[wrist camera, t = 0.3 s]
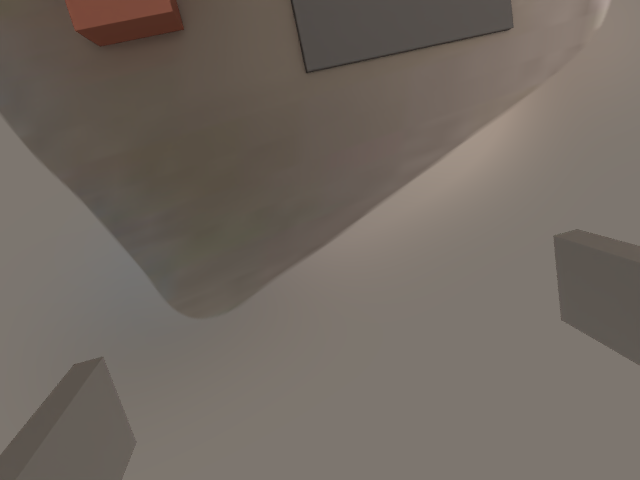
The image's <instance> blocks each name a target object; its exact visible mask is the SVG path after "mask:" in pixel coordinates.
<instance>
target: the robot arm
mask: <svg viewBox="0 0 640 480" xmlns="http://www.w3.org/2000/svg"><path fill="white" fill-rule="evenodd" d="M554 247H555V258H556V269H557V278H558V279H557V280H558V291H559V301H560V311H561V320H562V321H564V322H566V323H568V324H569V325H571V326H573V327H574V328H576V329H578V330H579V331H581V332H583V333H585V334H586V335H588V336H590V337H592V338H593V339H595V340H597V341H598V342H600V343H602V344H604V345H605V346H607V347H609V348H610V349H612V350H614V351H616V352H617V353H619V354H621V355H623V356H624V357H626V358H628V359H629V360H631V361H633V362H635V363H636V364H638V365H640V246H637V245H633V244H630V243H626V242H622V241H618V240H615V239H611V238H608V237H604V236H600V235H597V234H593V233H589V232H585V231H582V230H578V229H576V230H573V231H569V232H565V233H562V234H558V235H554ZM135 445H136V440H135V437H134V435H133V432H132V430H131V427H130V424H129V422H128V419H127V417H126V414H125V412H124V409H123V406H122V404H121V401H120V399H119V396H118V394H117V391H116V389H115V386H114V384H113V381H112V378H111V376H110V373H109V370H108V368H107V365H106V363H105V360H104V358H103V357H100V358H96V359H92V360H89V361H85V362H82V363H78V364H74V365H73V366H72V368H71V369H70V370H69V371H68V373H67V374H66V375H65V376H64V377H63V379H62V380H61V381H60V382H59V384H58V385H57V386H56V387H55V388H54V390H53V391H52V392H51V393H50V395H49V396H48V397H47V398H46V400H45V401H44V402H43V403H42V404H41V406H40V407H39V408H38V409H37V411H36V412H35V413H34V414H33V415H32V417H31V418H30V419H29V420H28V422H27V423H26V424H25V425H24V427H23V428H22V429H21V430H20V431H19V433H18V434H17V435H16V436H15V438H14V439H13V440H12V441H11V443H10V444H9V445H8V446H7V448H6V449H5V450H4V451H3V452H2V454H1V455H0V480H122V477H123V475H124V472H125V470H126V467H127V465H128V462H129V459H130V457H131V455H132V452H133V450H134V447H135Z"/></svg>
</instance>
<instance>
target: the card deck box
mask: <svg viewBox="0 0 640 480" xmlns="http://www.w3.org/2000/svg"><path fill="white" fill-rule="evenodd" d="M65 2H66V5H67V8H68V11H69V14H70V17H71V20H72V23H73V26H74V29H75V31H76V32H78V33H80V34H81V35H83V36H84V37H86V38H87V39H89V40H91V41H92V42H94V43H95V44H97V45H99V46H105V45H110V44H115V43H120V42H125V41H130V40H135V39H140V38H145V37H149V36H154V35H159V34H164V33H169V32H174V31H179V30H184V27H183V24H182V20H181V16H180V13H179V9H178V5H177V2H176V0H65Z"/></svg>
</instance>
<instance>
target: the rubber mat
mask: <svg viewBox="0 0 640 480" xmlns="http://www.w3.org/2000/svg"><path fill="white" fill-rule="evenodd" d="M291 2H292V7H293V12H294V16H295V21H296V26H297V31H298V35H299V40H300V45H301V49H302V54H303V59H304V63H305V68H306V73H308V72H313V71H318V70H322V69H327V68H332V67H336V66H341V65H346V64H350V63H355V62H360V61H364V60H369V59H374V58H378V57H383V56H388V55H393V54H397V53H402V52H407V51H411V50H416V49H421V48H425V47H430V46H435V45H439V44H444V43H449V42H453V41H458V40H463V39H467V38H472V37H477V36H482V35H486V34H491V33H496V32H500V31H505V30H509V29H511V28H513V17H512V7H511V0H291Z"/></svg>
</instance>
